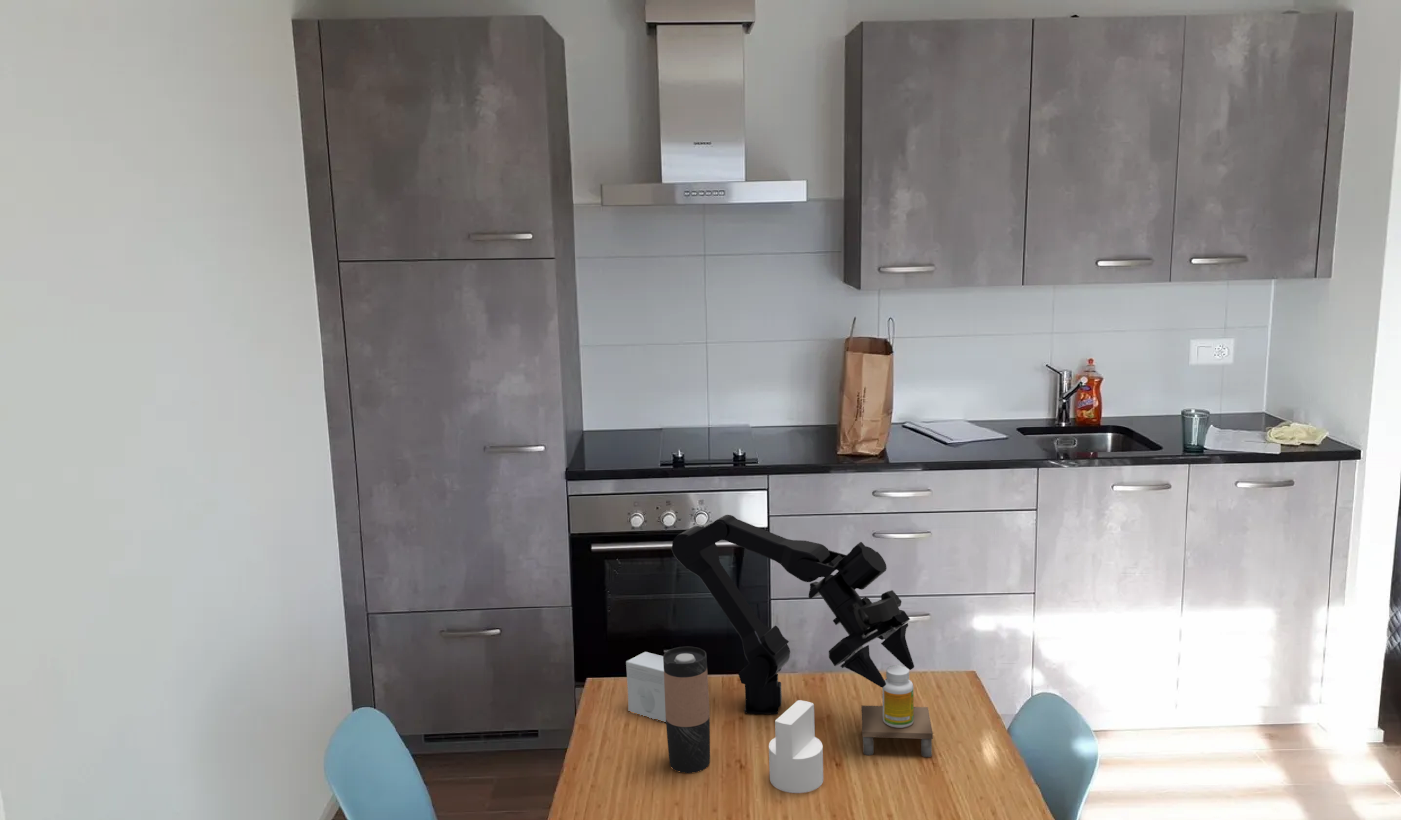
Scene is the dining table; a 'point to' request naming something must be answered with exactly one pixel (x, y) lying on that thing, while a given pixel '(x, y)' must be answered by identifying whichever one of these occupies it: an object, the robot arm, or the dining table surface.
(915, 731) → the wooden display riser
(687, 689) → the travel mug
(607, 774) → the dining table surface
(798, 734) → the base with upright slab
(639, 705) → the skincare box
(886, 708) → the supplement bottle
